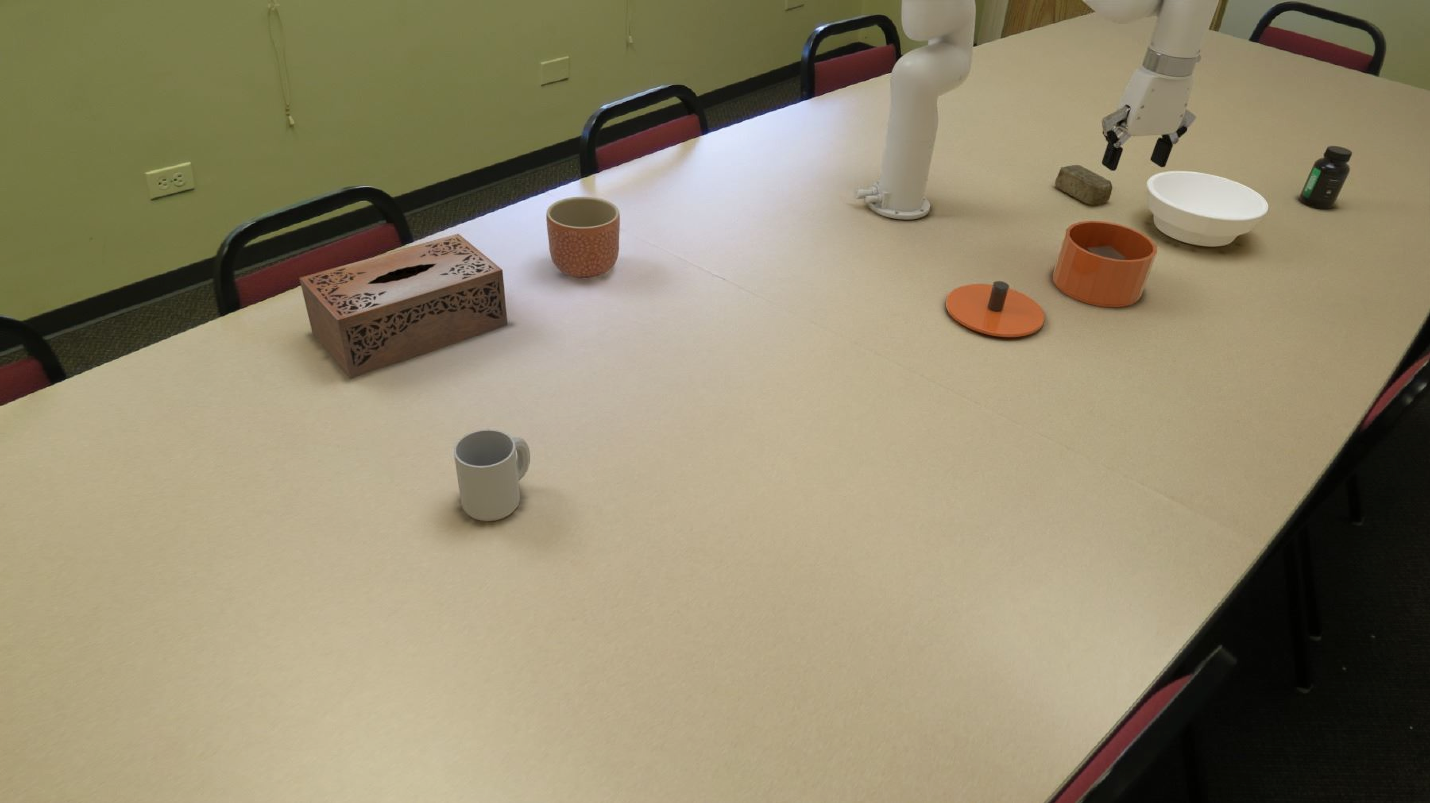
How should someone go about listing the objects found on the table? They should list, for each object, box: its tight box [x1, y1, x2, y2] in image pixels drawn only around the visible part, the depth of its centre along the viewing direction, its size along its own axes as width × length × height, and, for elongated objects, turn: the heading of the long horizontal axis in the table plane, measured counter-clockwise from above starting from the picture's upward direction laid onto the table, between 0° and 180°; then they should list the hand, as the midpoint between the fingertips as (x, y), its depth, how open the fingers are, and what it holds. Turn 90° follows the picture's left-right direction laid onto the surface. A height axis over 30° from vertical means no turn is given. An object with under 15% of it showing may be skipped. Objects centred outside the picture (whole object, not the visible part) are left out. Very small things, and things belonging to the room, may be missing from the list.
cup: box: [453, 428, 531, 522], centre depth 118 cm, size 7×10×9 cm
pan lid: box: [945, 280, 1045, 338], centre depth 161 cm, size 16×16×6 cm
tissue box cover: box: [299, 233, 508, 379], centre depth 147 cm, size 26×14×10 cm, turn 129°
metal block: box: [1086, 246, 1127, 260], centre depth 171 cm, size 5×5×6 cm
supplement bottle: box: [1298, 145, 1353, 210], centre depth 205 cm, size 7×7×12 cm
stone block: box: [1054, 164, 1113, 206], centre depth 203 cm, size 6×12×5 cm, turn 28°
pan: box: [1052, 220, 1158, 308], centre depth 170 cm, size 15×15×9 cm
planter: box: [545, 196, 621, 279], centre depth 165 cm, size 12×12×11 cm
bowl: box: [1146, 170, 1269, 247], centre depth 191 cm, size 22×22×8 cm
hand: (1132, 165), depth 160 cm, fingers open, 9 cm apart
